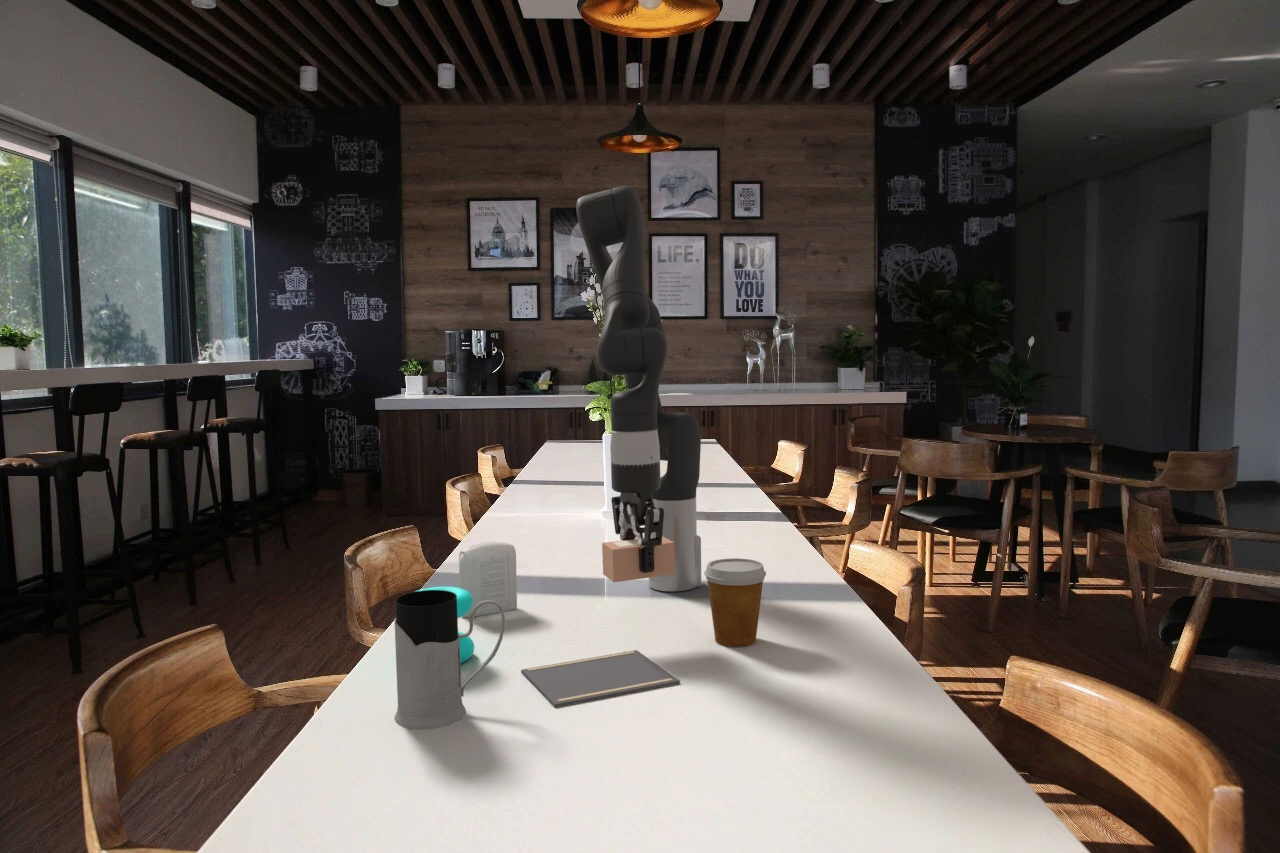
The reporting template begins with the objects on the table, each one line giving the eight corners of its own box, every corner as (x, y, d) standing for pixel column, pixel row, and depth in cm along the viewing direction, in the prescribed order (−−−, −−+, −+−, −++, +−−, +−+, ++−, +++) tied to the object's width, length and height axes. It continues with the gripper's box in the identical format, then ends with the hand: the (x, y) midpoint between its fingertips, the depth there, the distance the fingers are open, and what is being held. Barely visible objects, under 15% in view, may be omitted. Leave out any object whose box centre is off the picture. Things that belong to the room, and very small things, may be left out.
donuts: (428, 582, 140) (484, 587, 137) (430, 645, 141) (487, 651, 138) (389, 599, 131) (448, 605, 127) (391, 666, 132) (451, 674, 128)
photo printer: (510, 604, 163) (508, 536, 162) (521, 609, 159) (519, 540, 158) (456, 614, 157) (454, 544, 156) (466, 620, 154) (463, 548, 152)
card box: (662, 566, 145) (661, 535, 144) (674, 574, 140) (674, 541, 139) (603, 574, 141) (602, 542, 141) (613, 582, 136) (612, 549, 136)
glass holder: (390, 707, 117) (385, 593, 115) (499, 690, 122) (496, 581, 121) (399, 733, 109) (394, 611, 107) (515, 714, 114) (511, 597, 113)
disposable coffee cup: (771, 633, 144) (771, 559, 143) (759, 653, 135) (759, 574, 134) (713, 628, 147) (712, 555, 146) (697, 647, 138) (696, 570, 137)
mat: (636, 652, 136) (636, 649, 136) (679, 683, 123) (679, 679, 123) (521, 672, 128) (521, 669, 128) (554, 707, 116) (554, 703, 116)
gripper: (679, 462, 134) (682, 574, 136) (636, 452, 147) (639, 555, 148) (633, 467, 131) (637, 582, 132) (594, 456, 143) (597, 561, 145)
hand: (638, 567), depth 140 cm, fingers closed on card box, 5 cm apart
